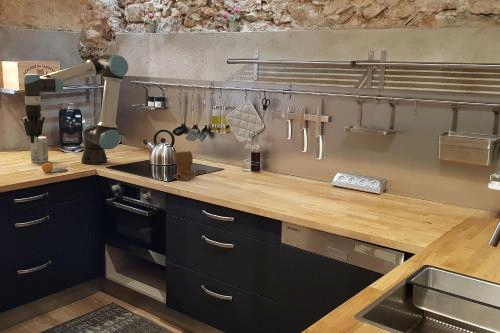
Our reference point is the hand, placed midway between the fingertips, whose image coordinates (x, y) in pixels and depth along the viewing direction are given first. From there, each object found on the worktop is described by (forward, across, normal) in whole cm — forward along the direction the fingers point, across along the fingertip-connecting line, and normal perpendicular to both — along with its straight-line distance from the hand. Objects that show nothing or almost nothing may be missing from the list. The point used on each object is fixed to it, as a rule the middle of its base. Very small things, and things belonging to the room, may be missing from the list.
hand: (34, 148), depth 276 cm
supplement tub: (+14, +24, +27) cm, 38 cm away
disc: (+14, +14, 0) cm, 20 cm away
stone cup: (+14, +45, -64) cm, 80 cm away
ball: (+11, +7, 0) cm, 13 cm away
